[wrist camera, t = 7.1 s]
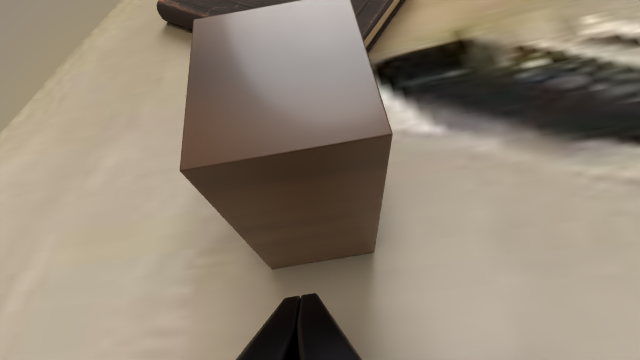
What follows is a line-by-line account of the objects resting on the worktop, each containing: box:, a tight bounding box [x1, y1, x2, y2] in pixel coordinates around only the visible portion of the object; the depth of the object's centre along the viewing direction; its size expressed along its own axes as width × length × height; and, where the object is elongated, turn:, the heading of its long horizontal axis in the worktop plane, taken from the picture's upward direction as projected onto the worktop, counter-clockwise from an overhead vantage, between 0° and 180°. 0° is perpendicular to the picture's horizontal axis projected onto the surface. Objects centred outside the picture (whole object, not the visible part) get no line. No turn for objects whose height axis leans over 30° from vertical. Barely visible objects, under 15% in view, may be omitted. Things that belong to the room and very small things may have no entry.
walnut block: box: [180, 0, 392, 269], centre depth 18 cm, size 8×7×13 cm
